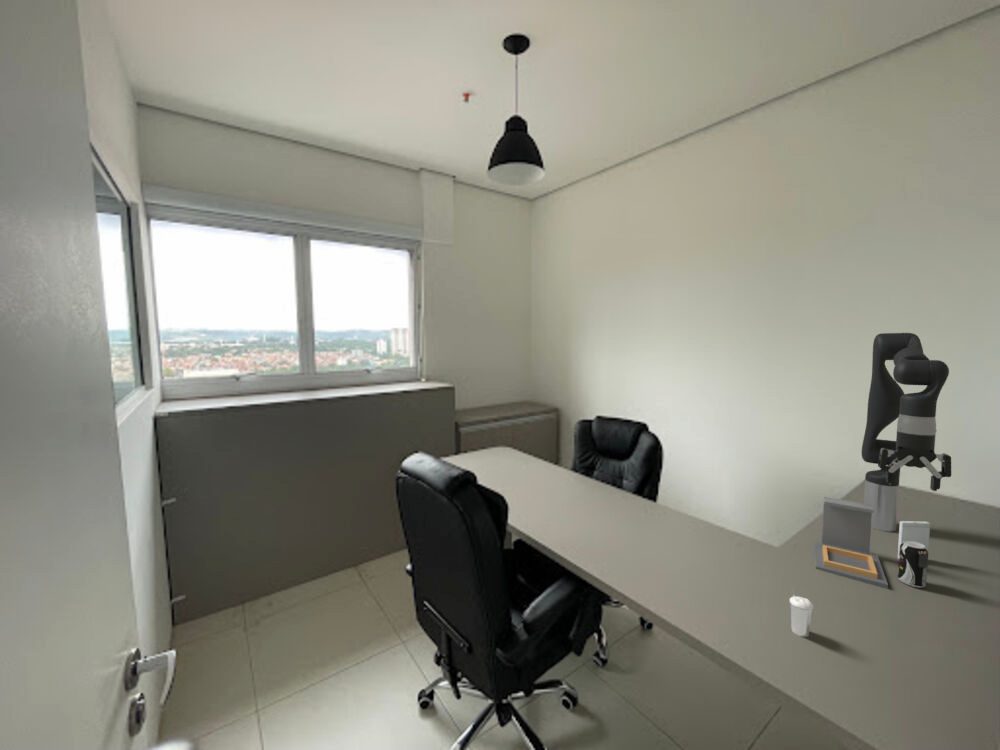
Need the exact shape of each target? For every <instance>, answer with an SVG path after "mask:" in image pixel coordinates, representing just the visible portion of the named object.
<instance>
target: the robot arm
mask: <svg viewBox="0 0 1000 750" xmlns="http://www.w3.org/2000/svg"><path fill="white" fill-rule="evenodd" d="M873 339H874V340H873V343H872V361H871V362H872V365H871V378H870V379H871V381H870V385H869V392H868V400H867V401H868V402H867V410H866V411H867V413H866V426H865V431H864V435H863V440H862V446H861V458H862V460H863V461H864V462H866V463H869V464H877V467H878V468H879V469H875V470H870V471H869V470H868V471H866V473H865V476H864V477H865V478H864V479H865V480H864V492H863V493H864V494H863V495H864V496H863V504H869V505H872V507H873V509H874V513H872V518H871V529H874V530H877V531H882V532H896V531H897V521H898V520H897V519H898V505H899V493H900V491H899V490H900V478H901V477H900V476H901V468H903V466H906V467H908V468H909V467H910V468H913V467H914V468H918V469H923V468H926V469H927V470H928V472H929V473H931V476H930V484H929V485H930V486H929V488H930V490H931V491H933V492H937V491H938V490H940V489H941V480H942V479H943V478H951V477H952V457H951V456H950V455H949V454H947V453H945V452H944V453H940V454H939V453H936V452H935V447H936V434H937V421H936V416H937V402H938V398H939V396H940V393H941V391H942V389H943V387H944V385H945V383H946V382H947V380H948V376H949V374H950V369H949V366H948V364H946V362H945V361H942V360H938V359H937V360H936V359H930V358H929V357H928V356H926V354H925V353H924V350H923V349H924V348H923V345H922V343H921V339H920V338H919V336H918V335H917V334H916V333H912V332H887V333H879V334H876V335H875V337H874V338H873ZM886 361H892V362H893V364H894V368H893V373H892V374H893V375H891V373H890V371H889V370H888V369H887V366H886ZM899 384H900V385H906V386H926V387H925V389H923V390H921V391H919V392H910V393H905V392H904V390H903V389H902V387H901V386H900V385H899ZM896 420H897V423H896V436H895V437H896V439H895V440H887V439H880V438H879V439H878V436H879V435H880V434H881V433H882V431H883V430H885V429H886V428H887V427H888V426H889V425H891V424H892V423H894V422H895V421H896ZM936 459H938V461H939V462H940V463H941V465H940V466H941V468H940V469H941V470H939V471H938V470H937V469H936V468H935V466H934V465H933V464H932V463H933V462H934V461H935V460H936Z"/></svg>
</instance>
